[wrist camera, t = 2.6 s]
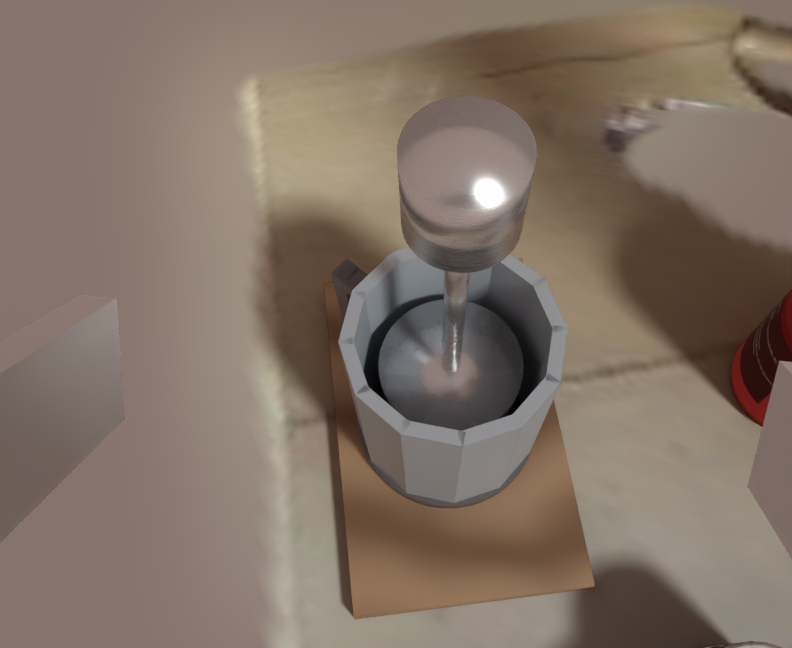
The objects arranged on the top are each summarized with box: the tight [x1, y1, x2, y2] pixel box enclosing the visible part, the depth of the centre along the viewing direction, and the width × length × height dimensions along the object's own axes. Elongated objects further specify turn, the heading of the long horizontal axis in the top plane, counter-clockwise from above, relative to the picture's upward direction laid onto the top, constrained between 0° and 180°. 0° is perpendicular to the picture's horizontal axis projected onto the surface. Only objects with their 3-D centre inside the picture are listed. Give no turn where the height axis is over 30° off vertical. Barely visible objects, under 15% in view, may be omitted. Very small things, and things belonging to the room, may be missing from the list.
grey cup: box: [332, 247, 568, 508], centre depth 43 cm, size 11×14×13 cm
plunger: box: [378, 96, 537, 431], centre depth 32 cm, size 8×8×18 cm
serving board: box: [324, 259, 595, 619], centre depth 49 cm, size 22×14×1 cm, turn 7°
